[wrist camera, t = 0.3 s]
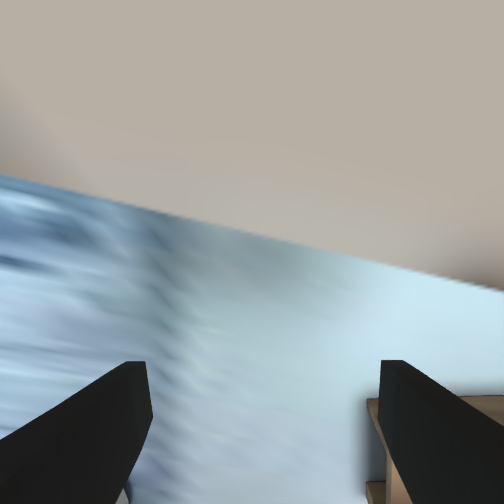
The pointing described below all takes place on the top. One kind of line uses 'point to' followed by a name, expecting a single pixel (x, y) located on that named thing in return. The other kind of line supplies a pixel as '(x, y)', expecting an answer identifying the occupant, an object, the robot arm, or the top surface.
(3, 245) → the top surface
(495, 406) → the shelf
